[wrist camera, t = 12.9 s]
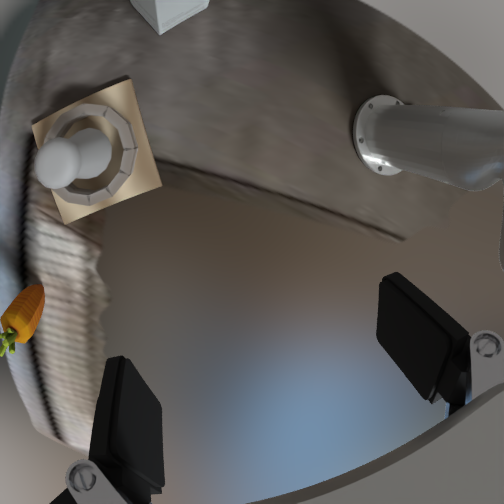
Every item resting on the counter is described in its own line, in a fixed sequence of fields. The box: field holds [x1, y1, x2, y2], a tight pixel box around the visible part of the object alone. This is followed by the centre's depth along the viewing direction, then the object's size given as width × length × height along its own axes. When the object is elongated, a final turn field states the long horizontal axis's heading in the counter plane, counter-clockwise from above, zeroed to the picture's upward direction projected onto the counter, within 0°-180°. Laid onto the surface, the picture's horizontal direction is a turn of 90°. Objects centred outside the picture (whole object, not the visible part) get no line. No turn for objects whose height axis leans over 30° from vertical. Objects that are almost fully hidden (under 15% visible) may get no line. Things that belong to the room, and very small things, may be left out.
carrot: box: [0, 284, 45, 357], centre depth 28 cm, size 5×5×15 cm
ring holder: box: [32, 79, 162, 225], centre depth 29 cm, size 14×14×4 cm
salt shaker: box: [35, 128, 112, 189], centre depth 24 cm, size 6×6×13 cm
